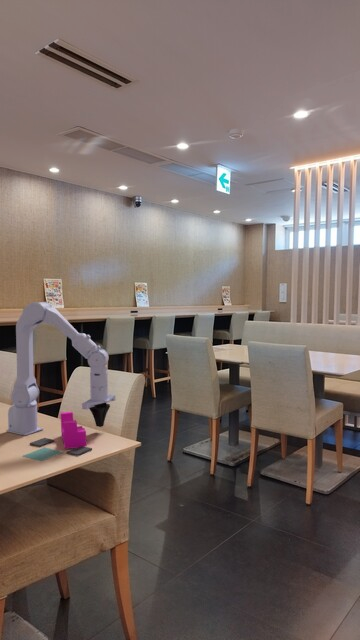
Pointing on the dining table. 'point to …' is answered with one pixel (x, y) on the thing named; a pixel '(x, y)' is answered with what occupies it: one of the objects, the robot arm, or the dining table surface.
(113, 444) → the dining table surface
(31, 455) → the pad
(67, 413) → the toy block
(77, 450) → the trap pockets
